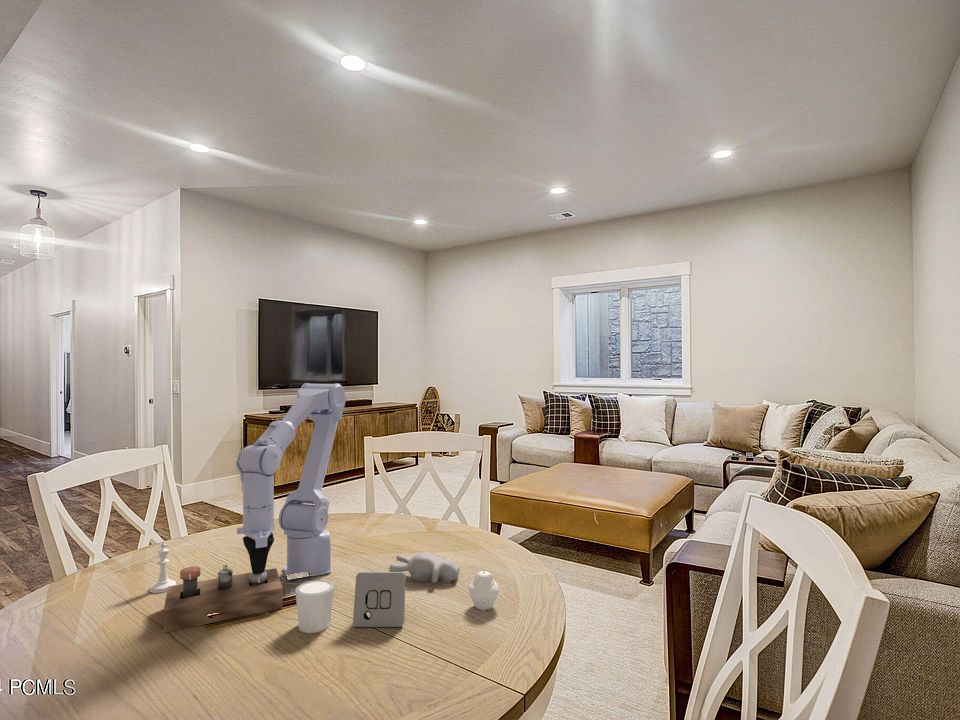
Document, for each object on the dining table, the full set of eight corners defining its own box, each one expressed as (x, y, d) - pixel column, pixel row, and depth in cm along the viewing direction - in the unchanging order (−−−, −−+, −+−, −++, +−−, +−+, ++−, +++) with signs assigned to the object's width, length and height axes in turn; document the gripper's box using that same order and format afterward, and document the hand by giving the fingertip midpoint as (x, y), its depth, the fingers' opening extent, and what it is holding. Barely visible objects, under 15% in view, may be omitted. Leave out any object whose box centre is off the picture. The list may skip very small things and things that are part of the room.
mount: (276, 586, 111) (276, 568, 111) (282, 608, 102) (282, 587, 102) (167, 606, 102) (167, 586, 102) (163, 632, 92) (163, 610, 92)
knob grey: (266, 594, 107) (266, 569, 107) (268, 601, 104) (268, 575, 104) (248, 597, 105) (248, 572, 105) (249, 605, 102) (249, 578, 102)
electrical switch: (352, 628, 94) (353, 575, 95) (358, 617, 99) (360, 567, 100) (403, 629, 94) (404, 576, 95) (407, 617, 99) (408, 567, 100)
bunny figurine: (456, 570, 111) (388, 559, 112) (453, 594, 111) (385, 582, 112) (462, 554, 120) (400, 544, 122) (460, 576, 120) (397, 565, 122)
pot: (232, 583, 104) (232, 562, 104) (232, 588, 101) (232, 566, 101) (217, 586, 102) (217, 564, 102) (217, 591, 100) (217, 568, 100)
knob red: (200, 591, 101) (200, 565, 101) (200, 599, 98) (200, 572, 98) (180, 595, 100) (180, 568, 100) (179, 603, 96) (179, 575, 96)
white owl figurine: (484, 617, 98) (484, 580, 98) (461, 607, 102) (461, 571, 102) (505, 606, 103) (505, 570, 103) (482, 596, 107) (482, 562, 107)
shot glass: (341, 619, 97) (341, 582, 97) (319, 637, 91) (319, 597, 91) (311, 613, 100) (311, 577, 100) (286, 630, 93) (287, 591, 93)
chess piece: (163, 594, 108) (164, 546, 108) (143, 592, 109) (144, 544, 109) (181, 584, 113) (182, 538, 113) (162, 582, 114) (162, 536, 114)
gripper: (235, 498, 109) (234, 563, 109) (238, 517, 96) (238, 590, 96) (270, 494, 112) (270, 557, 112) (278, 512, 100) (278, 582, 100)
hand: (258, 572), depth 105 cm, fingers closed
